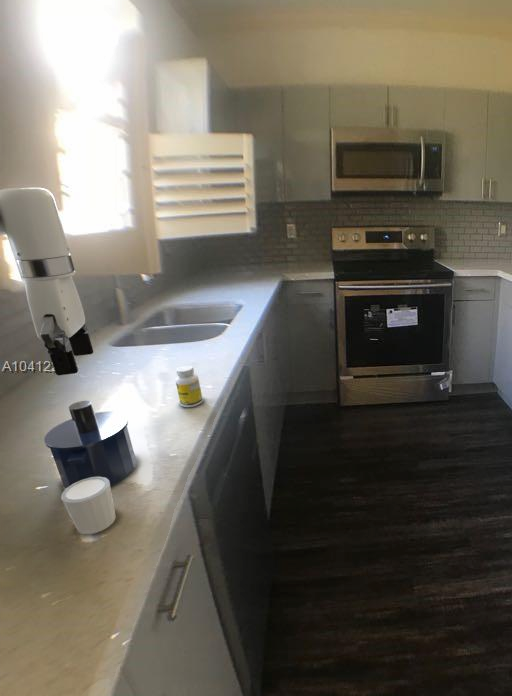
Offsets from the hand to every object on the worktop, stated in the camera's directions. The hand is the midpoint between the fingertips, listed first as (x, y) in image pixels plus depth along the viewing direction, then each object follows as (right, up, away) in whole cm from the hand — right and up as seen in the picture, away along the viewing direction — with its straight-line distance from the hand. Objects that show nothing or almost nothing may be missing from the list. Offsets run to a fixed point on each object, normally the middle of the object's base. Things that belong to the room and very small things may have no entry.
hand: (76, 363), depth 82 cm
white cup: (+7, -27, -5) cm, 28 cm away
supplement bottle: (+6, -10, +36) cm, 38 cm away
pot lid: (-1, -13, +5) cm, 14 cm away
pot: (-1, -22, +8) cm, 23 cm away
